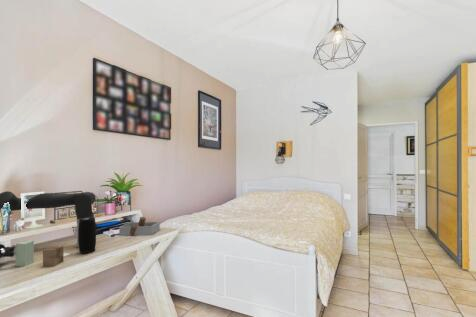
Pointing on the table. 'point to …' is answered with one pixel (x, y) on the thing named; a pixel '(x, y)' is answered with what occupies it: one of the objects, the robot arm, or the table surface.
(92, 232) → the portable speaker
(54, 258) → the walnut brick
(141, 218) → the wooden block set
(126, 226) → the organizer tray
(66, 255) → the page
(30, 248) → the sage brick
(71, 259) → the table surface
